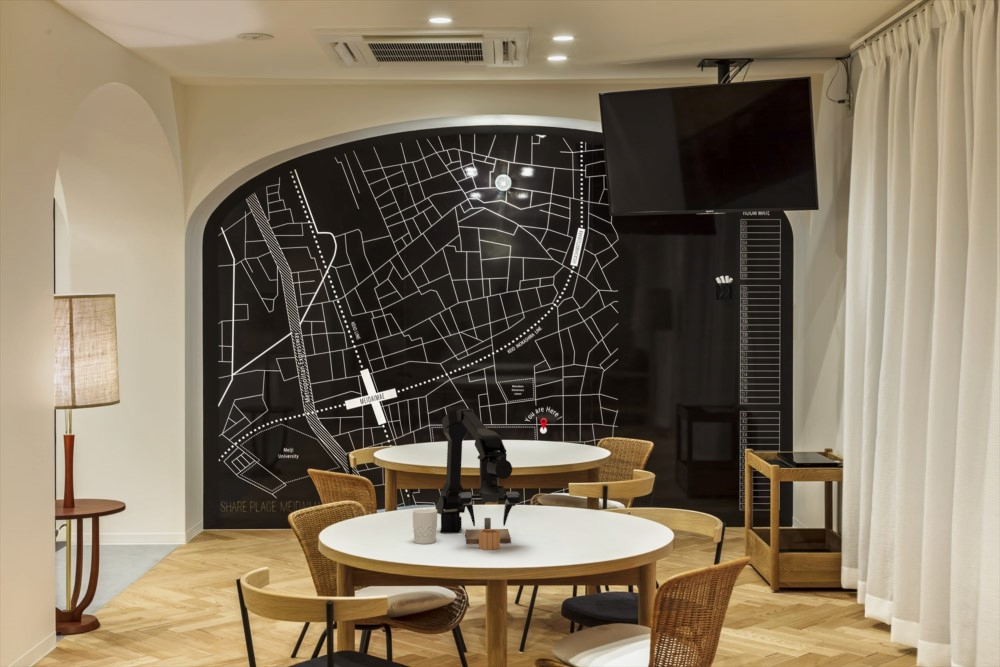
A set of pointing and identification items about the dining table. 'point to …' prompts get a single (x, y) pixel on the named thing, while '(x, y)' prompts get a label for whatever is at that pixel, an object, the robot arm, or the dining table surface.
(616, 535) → the dining table surface
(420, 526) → the white cup
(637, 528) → the dining table surface
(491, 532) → the orange short hollow cylinder
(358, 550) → the dining table surface
